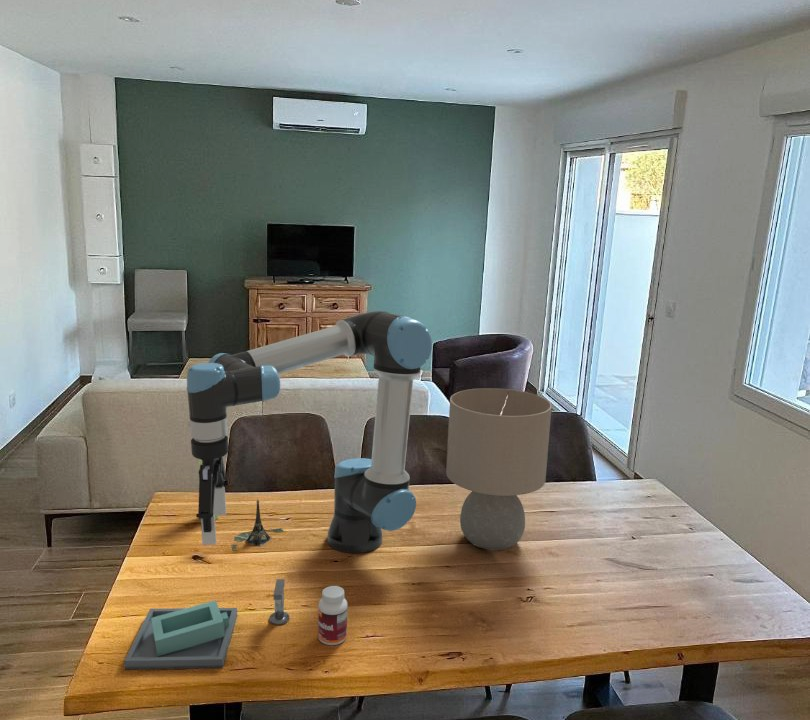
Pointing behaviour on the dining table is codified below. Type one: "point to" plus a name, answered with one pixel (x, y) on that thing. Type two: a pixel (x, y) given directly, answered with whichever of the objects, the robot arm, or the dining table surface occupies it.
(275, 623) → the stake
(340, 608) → the pill bottle
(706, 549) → the dining table surface
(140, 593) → the dining table surface
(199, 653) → the tray
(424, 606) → the dining table surface
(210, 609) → the ring frame
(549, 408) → the lamp
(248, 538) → the eiffel tower figurine
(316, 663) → the dining table surface
